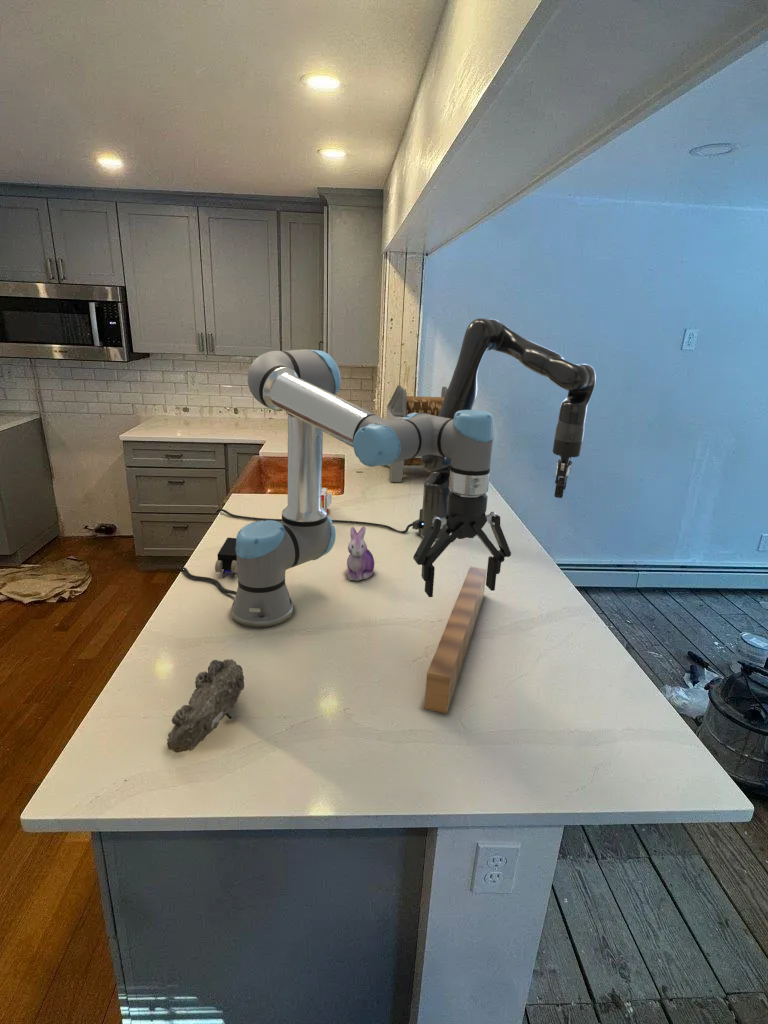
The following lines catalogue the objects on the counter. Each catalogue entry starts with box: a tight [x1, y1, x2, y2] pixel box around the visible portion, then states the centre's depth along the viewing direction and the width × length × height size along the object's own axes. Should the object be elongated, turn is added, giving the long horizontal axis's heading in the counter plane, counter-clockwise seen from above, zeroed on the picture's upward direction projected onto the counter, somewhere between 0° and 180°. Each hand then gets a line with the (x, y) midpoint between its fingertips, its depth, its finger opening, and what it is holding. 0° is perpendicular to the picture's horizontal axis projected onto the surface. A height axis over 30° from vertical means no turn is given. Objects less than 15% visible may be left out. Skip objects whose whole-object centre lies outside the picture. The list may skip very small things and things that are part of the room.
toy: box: [321, 487, 333, 514], centre depth 208 cm, size 12×13×30 cm
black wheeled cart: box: [214, 537, 237, 578], centre depth 166 cm, size 7×8×15 cm
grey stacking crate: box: [385, 384, 448, 483], centre depth 268 cm, size 34×33×41 cm
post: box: [423, 566, 487, 714], centre depth 134 cm, size 52×5×8 cm, turn 163°
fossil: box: [166, 658, 245, 754], centre depth 106 cm, size 22×10×15 cm
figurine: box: [346, 525, 375, 582], centre depth 165 cm, size 9×10×15 cm
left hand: (459, 591), depth 116 cm, fingers open, 13 cm apart
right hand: (559, 493), depth 163 cm, fingers open, 8 cm apart
